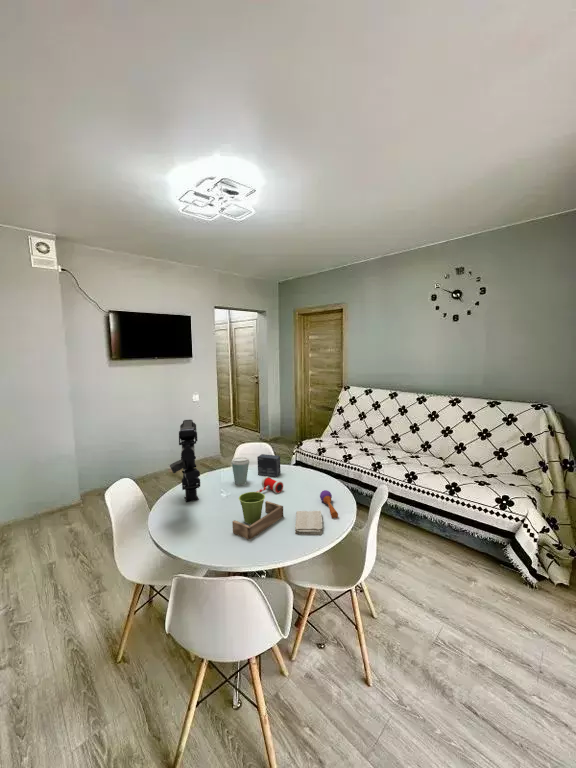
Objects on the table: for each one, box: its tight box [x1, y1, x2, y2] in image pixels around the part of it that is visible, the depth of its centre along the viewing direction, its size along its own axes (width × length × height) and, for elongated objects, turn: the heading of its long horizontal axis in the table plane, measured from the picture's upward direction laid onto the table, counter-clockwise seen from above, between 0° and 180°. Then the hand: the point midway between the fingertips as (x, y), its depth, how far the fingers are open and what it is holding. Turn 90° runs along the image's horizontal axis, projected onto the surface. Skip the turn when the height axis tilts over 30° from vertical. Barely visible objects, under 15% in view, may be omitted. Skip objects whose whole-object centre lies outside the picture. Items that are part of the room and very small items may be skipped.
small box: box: [256, 453, 281, 478], centre depth 203 cm, size 13×7×12 cm, turn 69°
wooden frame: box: [231, 500, 284, 541], centre depth 143 cm, size 10×23×5 cm, turn 145°
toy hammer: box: [256, 476, 284, 494], centre depth 175 cm, size 23×12×6 cm, turn 133°
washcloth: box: [294, 510, 323, 536], centre depth 143 cm, size 12×18×3 cm, turn 177°
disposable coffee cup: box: [231, 456, 250, 486], centre depth 190 cm, size 11×11×15 cm
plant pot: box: [238, 491, 266, 526], centre depth 146 cm, size 12×12×11 cm
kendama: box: [319, 489, 339, 519], centre depth 157 cm, size 6×6×20 cm
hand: (190, 486), depth 155 cm, fingers closed
